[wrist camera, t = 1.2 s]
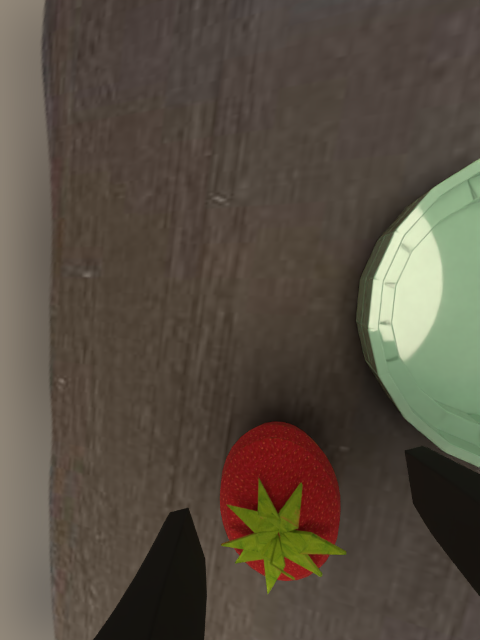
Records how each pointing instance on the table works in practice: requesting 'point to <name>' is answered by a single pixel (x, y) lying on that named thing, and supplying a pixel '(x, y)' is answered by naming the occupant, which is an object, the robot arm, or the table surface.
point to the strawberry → (280, 503)
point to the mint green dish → (429, 314)
